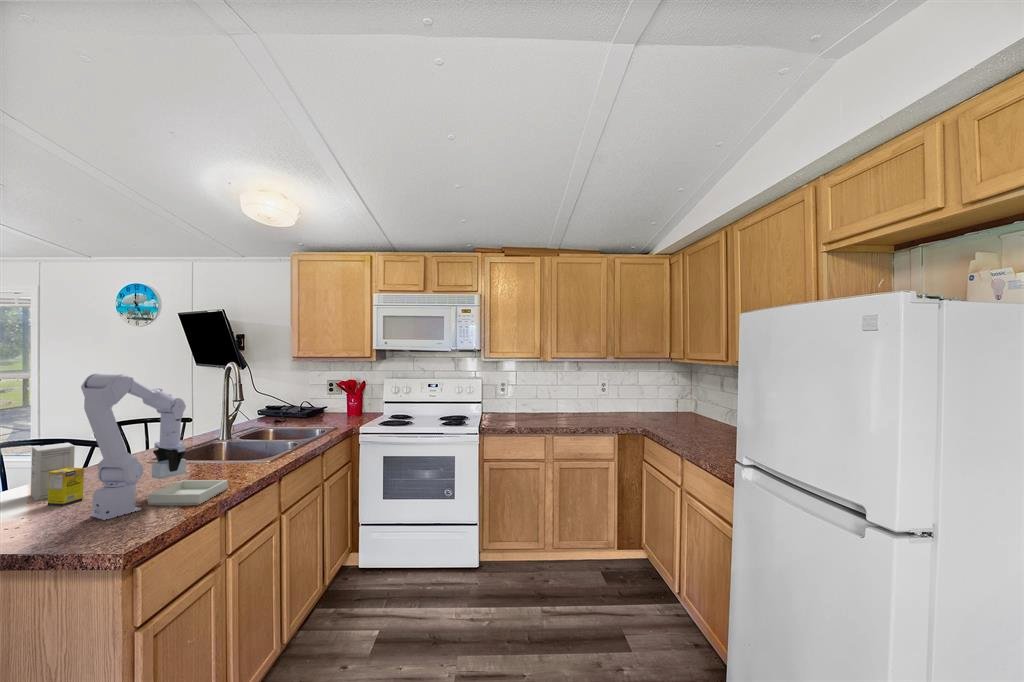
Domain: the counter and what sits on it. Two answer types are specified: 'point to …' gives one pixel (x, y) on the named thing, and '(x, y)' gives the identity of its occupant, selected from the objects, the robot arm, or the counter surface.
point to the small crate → (167, 469)
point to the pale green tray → (188, 492)
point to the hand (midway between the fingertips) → (168, 470)
